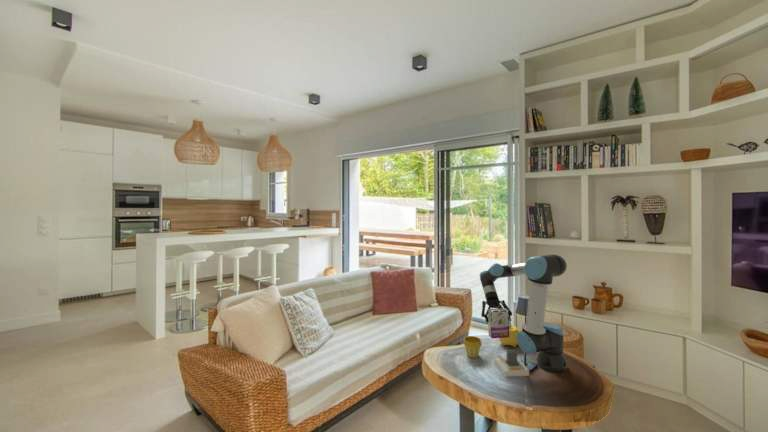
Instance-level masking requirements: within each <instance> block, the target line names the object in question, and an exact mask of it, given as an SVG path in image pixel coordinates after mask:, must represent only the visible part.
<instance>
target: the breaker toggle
mask: <svg viewBox="0 0 768 432" xmlns="http://www.w3.org/2000/svg"><path fill="white" fill-rule="evenodd" d="M506 357H507V361H505V362H506V363H507V364H508V365H509V366H519V364H518V362H517V358H518V352H517V350H506Z"/></svg>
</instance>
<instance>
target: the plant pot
mask: <svg viewBox="0 0 768 432" xmlns="http://www.w3.org/2000/svg"><path fill="white" fill-rule="evenodd" d="M463 345H464V347H465V352H466V355H467V356H468V357H470V358H474V359H475V358H478V357H479V355H480V350H481V347H482V339H481V338H480V337H478V336H473V335H469V336H465V337H464V338H463Z"/></svg>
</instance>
